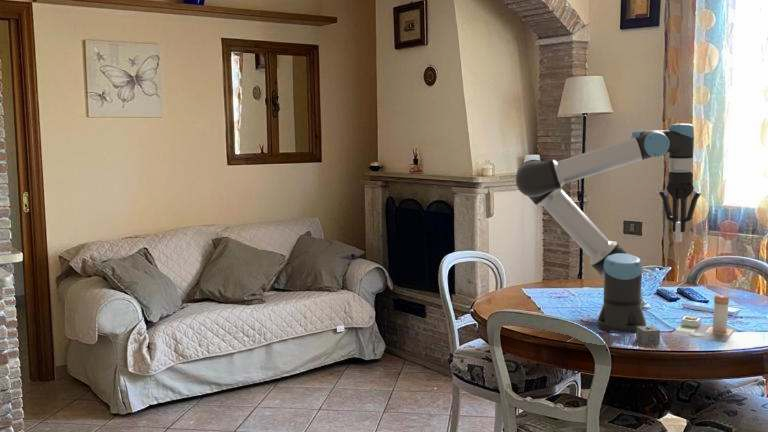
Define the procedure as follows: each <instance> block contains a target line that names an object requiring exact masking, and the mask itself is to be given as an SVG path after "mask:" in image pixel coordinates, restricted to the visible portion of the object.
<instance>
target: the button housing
mask: <svg viewBox="0 0 768 432" xmlns="http://www.w3.org/2000/svg"><path fill="white" fill-rule="evenodd" d="M686 317H690V316H688V315H685V316H683V318H681V320H680V321H681V322H680V323H681V324H680V325H681V326H684V327H691V328H698V327H699V326H700V324H701V317H696V316H695V318H696V321H693V320H686Z"/></svg>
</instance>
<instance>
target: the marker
mask: <svg viewBox="0 0 768 432" xmlns="http://www.w3.org/2000/svg"><path fill="white" fill-rule="evenodd" d="M729 303H730V297H729V295H723V294H715V295H714V298H713V314H712V315H713V319H712V325H713V331H715V332H726V330H727V326H728V314H729V313H728V311H729Z"/></svg>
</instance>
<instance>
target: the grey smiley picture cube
mask: <svg viewBox="0 0 768 432" xmlns="http://www.w3.org/2000/svg"><path fill="white" fill-rule="evenodd" d="M660 334H661V331H660V329H659V328H657V327H655V326H654V325H646V326H637V331H636V339H635V340H636V341H638V342H639V343H641V344H642V345H660V344H661V343H660V336H661V335H660Z"/></svg>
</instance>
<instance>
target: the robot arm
mask: <svg viewBox="0 0 768 432" xmlns="http://www.w3.org/2000/svg"><path fill="white" fill-rule="evenodd" d="M694 128H695V127H694V125H693V124H691V123H675V124H674V123H671V124H670V125H669V128H668V129H664V130H657V129H655V130H654V129H653V130H634V131H632V133H631V135H630V138H629V139H626V140H623V141H620V142H617V143H613V144H609V145H605V146H603V147H600V148H597V149H594V150H590V151H588V152H584V153H580V154H578V155H574V156H571V157H568V158H565V159H561V160H556V159H550V160H547V161H543V160H540V159H530V160H529V159H528V160H526V161H525V162H523V163H522V164H520V166H519V167H518V168H517V171H516V175H515V183H516V187H517V189H518V191H519V192H520V193H522V195H524V196H527V197H528V198H529V199H530V200H531V202H532V203H534V205H535V206H540V207H541V206H542V207H543V208H544V209H545V210H546V211H547V212H548V213H549V215H551V217H552V218H553V219H554V220H555V221H556V222H557V223H558V224H559V225H560V226H561V228H562V229H564V230H565V232H566V233H567V235H569V236H570V237H571V238H572V239H573V241H574V242H576V244H577V245H578V246H579V247H580V248H581V250H582V251H583V252H585V254H586V255H587V256H588V257H589V264H590V266H591V267H592V268H593V269H594V270H595V272H597V273H598V274H599V275H600V277H601V278H602V279H603V303H602V307H601V308H600V311H599V315H598V317H597V327H598V329H600V330H602V331H605V332H608V333H615V334H616V333H620V332H621V333H634V332H635V333H637V326H647V321H646V318H645V315H644V311H643V309H642V281H643V280H642V279H643V277H642V275H643V264H642V263H643V262H642V260H641V259H640V257H638V256H636V255H633V254H631V253H628V252H627V251H625V249H624V248H623V247H622V246H621V244H619V243H618V242H617V241H612V240H609V239H608V238H607V236H605V235H604V233H603V232H602V231H601V230H600V229H599V228H598V227H597V226H596V224H595V223H593V221H592V220H591V219H590V218H589V217H588V216H587V214H585V213H584V211H583V210H581V208H580V207H579V206H578V205H577V204H576V203H575V202H574V201H573V199H571V197H570V196H569V195H568V194H567V193H566V191H564V190H563V186H565V184H568V183H571V182H574V181H578V180H580V179H586V178H587V177H591V176H594V175H597V174H598V175H599V174H601V173H604V172H607V171H611V170H614V169H617V168H620V167H623V166H626V165H630V164H633V163H637V162H640V161H642V160H648V159H650V158H651V159H652V158H653V157H654V158H658V157H661V156H663V155H665V154H668V170H669V171H668V173H667V175H668V176H667V178H668V180H667V186H666V189H664V190H661V191H660V192H659V195H660V197H661V199H662V203H663V207H664V211H665V212H664V213H665V216H666V220H668V221H670V222H672V232H675V241H674V242H675V243H681V242H682V241H683V233H685V232H686V225H687V222H690V221H691V220H692V219H693V216H694V213H695V209H696V207H697V202H698V199H699V198H700V197H701V195H702V194H701V192H698V191H697V190H695V187H694V184H693V181H694V180H693V178H694V172H693V170H694V146H695V145H694V144H695V132H694V131H695V129H694ZM668 195H669V196H670V197H671V198H672V209H671V206H670V205H671V204H670V200H669V196H668ZM690 196H691V197H692V198H691V200H690V205H689V208H688V212H687V203H688V198H689V197H690ZM679 201H680V203H679ZM679 204H680V220H679Z"/></svg>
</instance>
